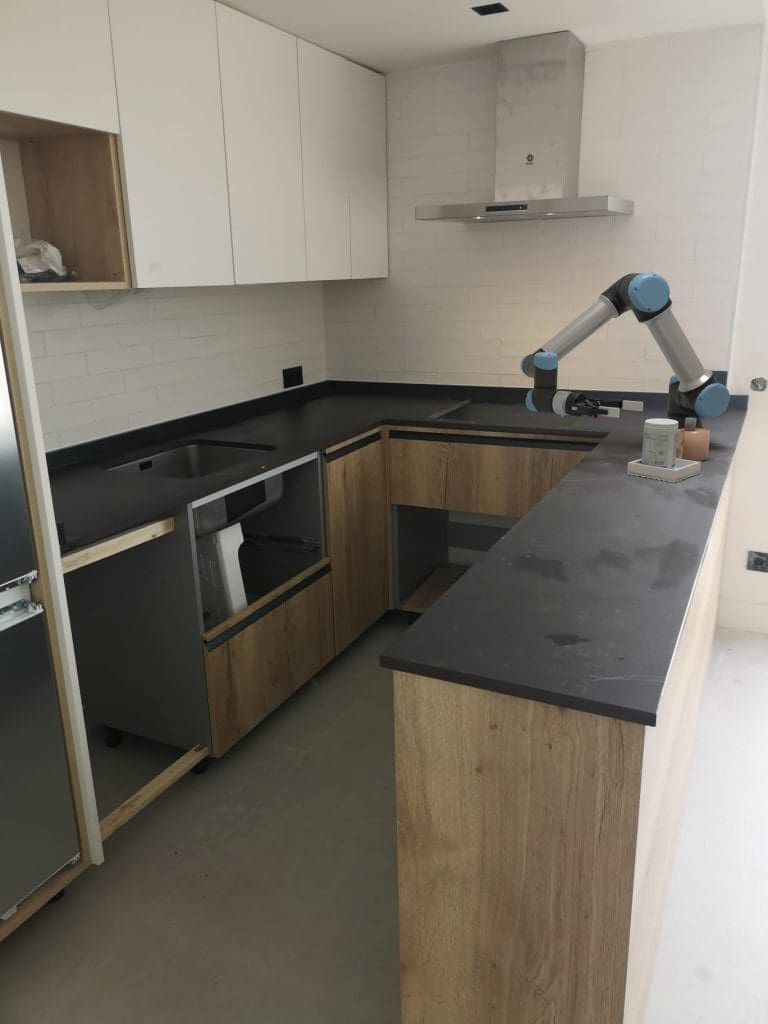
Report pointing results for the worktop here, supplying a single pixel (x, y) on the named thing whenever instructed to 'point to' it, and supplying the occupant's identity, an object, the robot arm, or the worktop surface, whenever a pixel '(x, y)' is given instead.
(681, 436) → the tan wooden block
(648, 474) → the tray
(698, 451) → the peach lotion bottle
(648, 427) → the supplement tub
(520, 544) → the worktop surface
